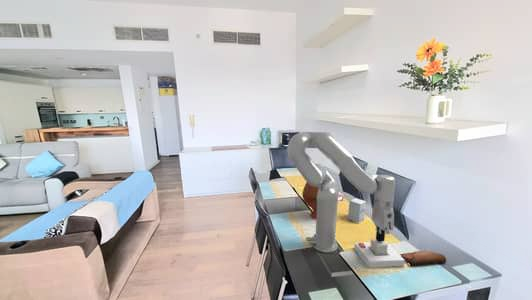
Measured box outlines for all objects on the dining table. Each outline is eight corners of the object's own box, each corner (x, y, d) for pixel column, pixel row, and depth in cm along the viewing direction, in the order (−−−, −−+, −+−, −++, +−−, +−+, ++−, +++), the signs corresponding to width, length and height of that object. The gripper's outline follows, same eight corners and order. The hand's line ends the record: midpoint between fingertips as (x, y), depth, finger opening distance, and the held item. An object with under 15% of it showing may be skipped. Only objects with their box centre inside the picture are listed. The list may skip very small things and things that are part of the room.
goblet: (299, 221, 137) (301, 182, 133) (303, 208, 155) (305, 174, 151) (331, 226, 132) (334, 185, 127) (332, 212, 150) (334, 176, 146)
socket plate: (368, 267, 96) (369, 259, 96) (354, 248, 110) (354, 241, 110) (404, 266, 98) (405, 258, 97) (385, 247, 111) (385, 240, 111)
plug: (386, 260, 102) (387, 244, 100) (375, 260, 101) (377, 244, 100) (379, 253, 107) (381, 238, 105) (369, 253, 106) (371, 238, 105)
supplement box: (358, 223, 135) (360, 204, 133) (347, 219, 140) (348, 200, 138) (364, 220, 139) (366, 201, 137) (353, 215, 145) (355, 197, 143)
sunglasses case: (429, 251, 108) (437, 244, 104) (440, 266, 103) (449, 260, 99) (396, 255, 105) (403, 248, 101) (405, 270, 100) (413, 264, 96)
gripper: (402, 209, 92) (398, 249, 95) (381, 196, 107) (378, 231, 110) (385, 210, 92) (381, 250, 95) (366, 196, 107) (363, 232, 110)
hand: (379, 240), depth 102 cm, fingers closed
